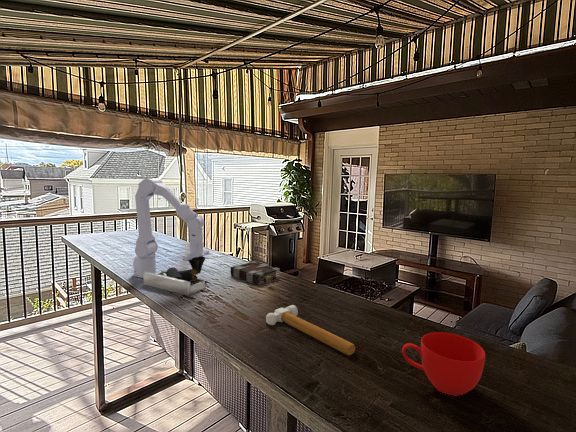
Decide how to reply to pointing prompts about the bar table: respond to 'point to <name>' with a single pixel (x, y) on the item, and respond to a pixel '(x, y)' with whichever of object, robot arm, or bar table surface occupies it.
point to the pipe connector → (182, 274)
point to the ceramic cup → (449, 362)
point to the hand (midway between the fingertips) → (197, 273)
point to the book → (255, 272)
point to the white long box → (172, 283)
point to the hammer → (309, 329)
